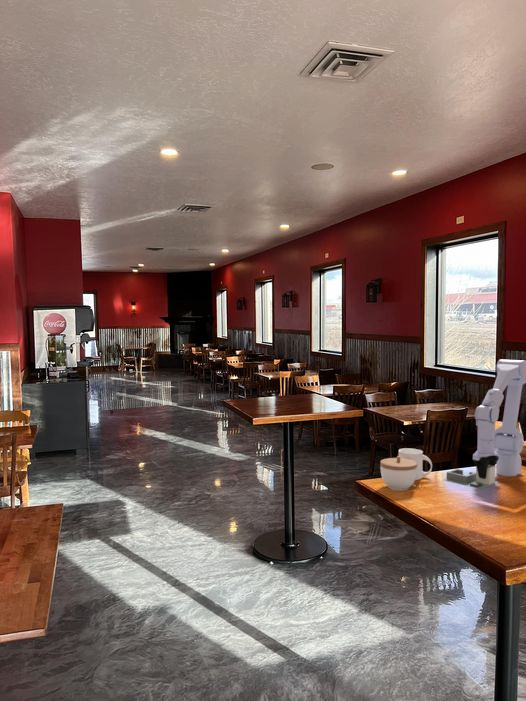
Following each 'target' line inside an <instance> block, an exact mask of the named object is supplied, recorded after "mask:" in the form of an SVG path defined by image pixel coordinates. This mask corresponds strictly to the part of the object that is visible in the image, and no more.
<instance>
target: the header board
mask: <svg viewBox="0 0 526 701" xmlns="http://www.w3.org/2000/svg"><path fill="white" fill-rule="evenodd" d="M442 481H446V482H451V483H455V484H459V485H464V486H467V487H472V488H477V489H480V490H482V489H485V488H487V487H490V486H493V485H495V484H498V483H500V481H498V480H495V483H493V484H490V485H488V484H483V483H479V482H476V472H473V471H470V472H469V474H467V473H464V470H463V469H460V468H456V469H451V470H448V471H446V477H445V478H442Z"/></svg>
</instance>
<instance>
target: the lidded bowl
mask: <svg viewBox="0 0 526 701" xmlns="http://www.w3.org/2000/svg"><path fill="white" fill-rule="evenodd" d="M379 463H380V464H379V465H380V474H381V479H382V481H383V483H384V484H385V486H387V488H388V489H390V490H392V491H397V492H402V491H408V490H409V489H410V488H411V486H412V485H414V483H415V481H416V480H415V478H416V473H417V463H416V462H415V461H413V460H409V459H404V458H400V457H399V455H397V456H396V457H388V458H384V459H381V460H380V462H379Z"/></svg>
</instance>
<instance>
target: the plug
mask: <svg viewBox="0 0 526 701" xmlns="http://www.w3.org/2000/svg"><path fill="white" fill-rule="evenodd" d="M475 467H476V466H475ZM475 470H476V471H475V473H476V482H479V483H483V484H488V485H490V484H493V483H495V481H496V478H497V477H496V465H495V466H494V465H488V468H487V474H486V478H485V479H482V478H479V475H478V471H477V467H476V468H475ZM493 485H494V484H493ZM490 486H491V485H490Z"/></svg>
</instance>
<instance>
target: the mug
mask: <svg viewBox="0 0 526 701" xmlns="http://www.w3.org/2000/svg"><path fill="white" fill-rule="evenodd" d="M423 453H424V451H423V450H421V449H416V448H410V447H409V448H407V447H405V448H399V449H398V456H399V457H400V458H404V459H409V460H413V461H415V462H416V463H417V473H416V478H415V481H417V480H422V479H423V477H427V476H428V475H430V473H431V472H432V471H433V470H432V469H433V462H432V460H431V459H430V458H429V457H428V456H427V455H425V454H423ZM424 461H427V462H428V463H429V464H430V469H429V470H428V471H424V470H423V465H424V464H423V462H424Z"/></svg>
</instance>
